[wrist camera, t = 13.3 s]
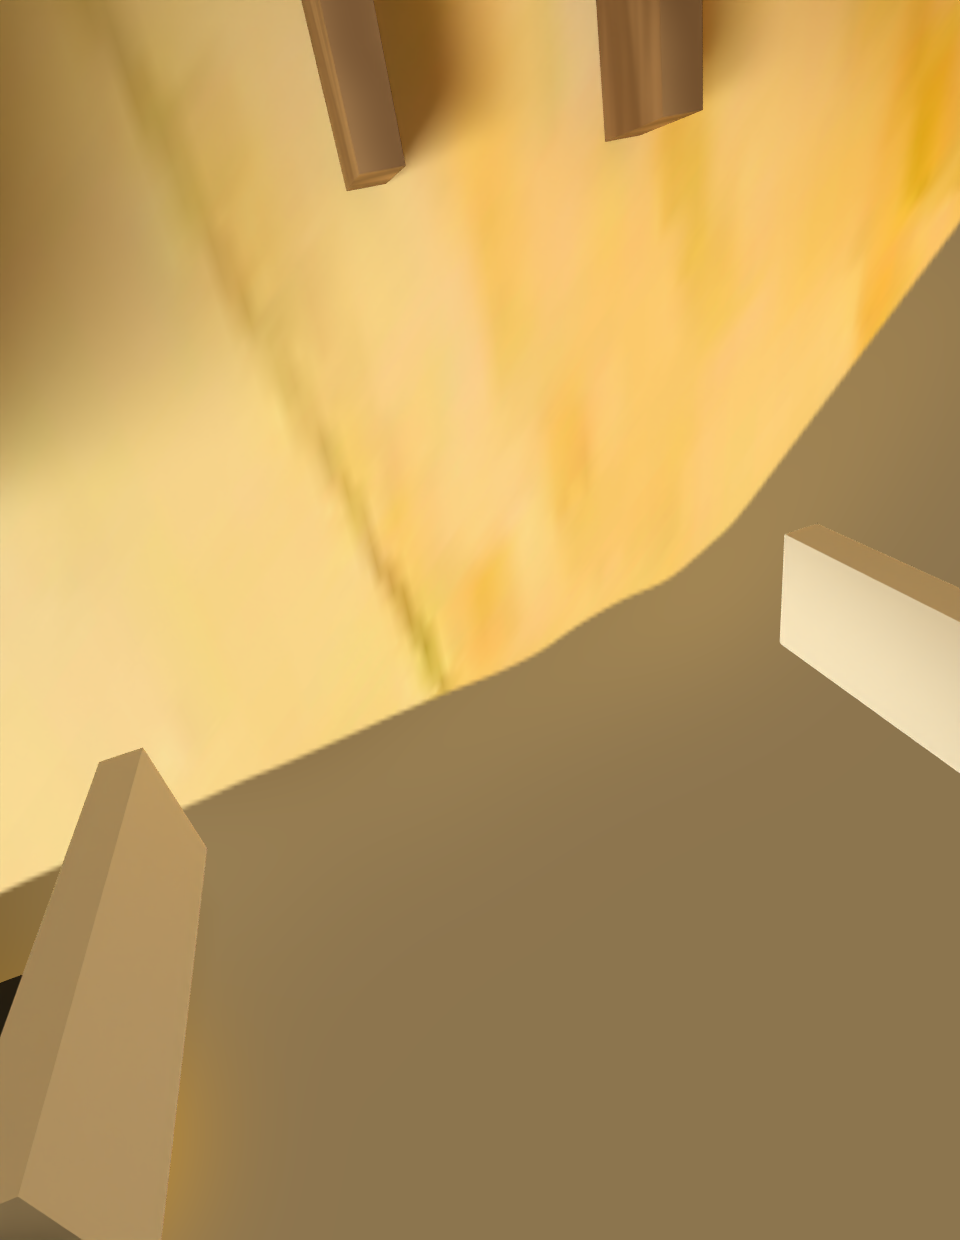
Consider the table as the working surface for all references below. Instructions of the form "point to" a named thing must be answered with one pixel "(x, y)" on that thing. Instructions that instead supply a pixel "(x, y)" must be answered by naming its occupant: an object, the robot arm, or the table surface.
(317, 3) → the slot holder
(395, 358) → the table surface
